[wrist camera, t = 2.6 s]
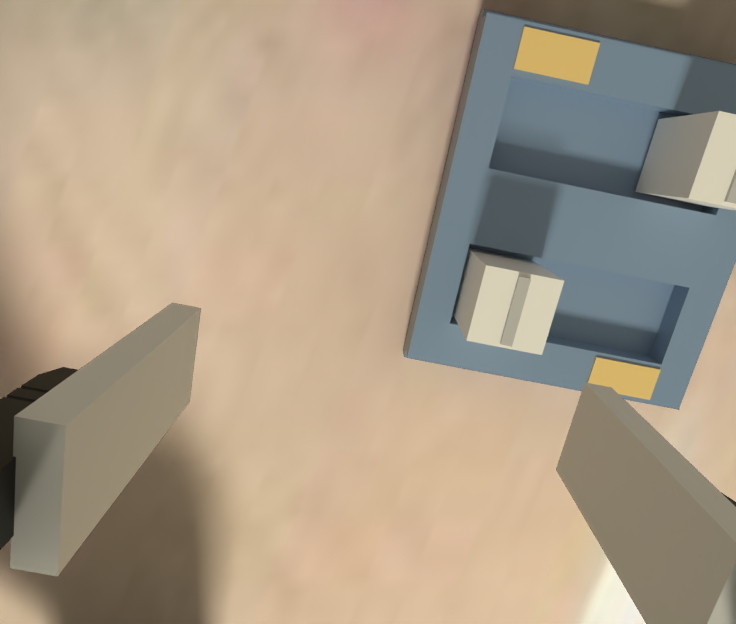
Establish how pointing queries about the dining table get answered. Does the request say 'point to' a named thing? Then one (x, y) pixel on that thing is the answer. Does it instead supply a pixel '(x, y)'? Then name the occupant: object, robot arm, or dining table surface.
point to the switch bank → (578, 209)
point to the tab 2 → (693, 160)
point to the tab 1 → (506, 301)
